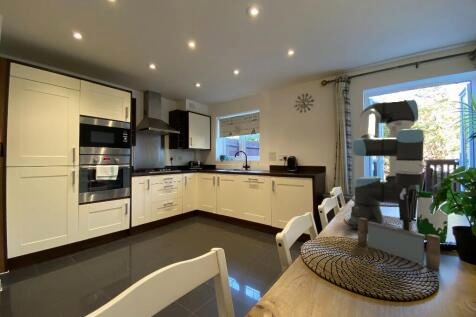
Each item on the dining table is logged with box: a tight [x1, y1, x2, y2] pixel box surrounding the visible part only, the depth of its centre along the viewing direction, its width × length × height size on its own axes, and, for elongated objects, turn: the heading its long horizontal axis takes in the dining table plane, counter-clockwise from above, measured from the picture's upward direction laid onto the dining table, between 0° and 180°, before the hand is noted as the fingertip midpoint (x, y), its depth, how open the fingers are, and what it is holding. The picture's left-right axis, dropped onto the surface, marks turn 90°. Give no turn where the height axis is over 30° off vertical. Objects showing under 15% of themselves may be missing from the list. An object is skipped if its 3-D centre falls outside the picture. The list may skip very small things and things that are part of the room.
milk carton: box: [416, 190, 449, 244], centre depth 85 cm, size 9×9×20 cm
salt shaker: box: [347, 205, 359, 233], centre depth 98 cm, size 6×6×12 cm
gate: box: [367, 221, 426, 265], centre depth 73 cm, size 16×2×9 cm, turn 34°
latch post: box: [425, 234, 441, 272], centre depth 65 cm, size 3×3×10 cm
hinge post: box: [357, 218, 368, 247], centre depth 82 cm, size 3×3×10 cm
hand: (407, 238), depth 76 cm, fingers closed
